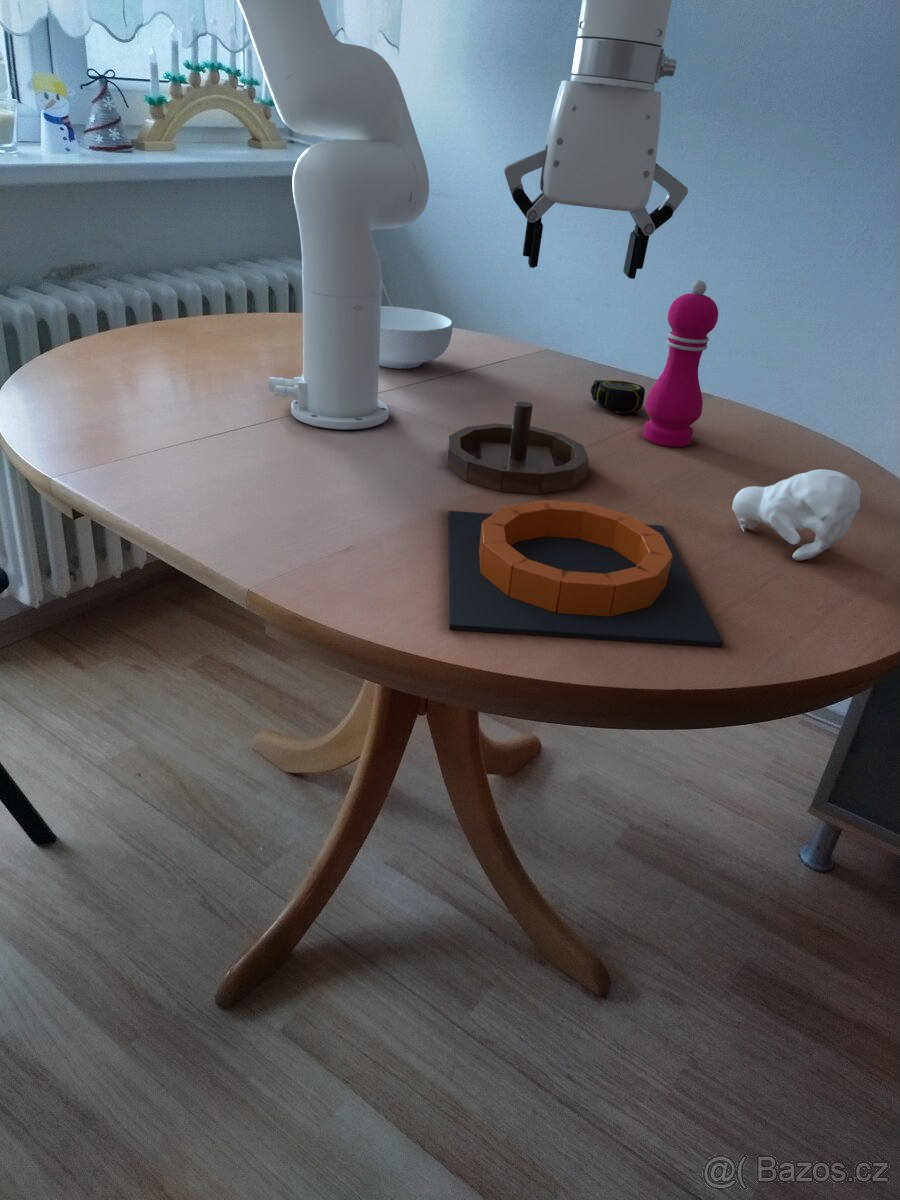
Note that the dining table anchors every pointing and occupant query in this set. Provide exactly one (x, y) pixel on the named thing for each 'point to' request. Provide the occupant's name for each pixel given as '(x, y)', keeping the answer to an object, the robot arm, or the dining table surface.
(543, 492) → the walnut ring
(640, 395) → the tape measure
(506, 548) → the orange ring
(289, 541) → the dining table surface
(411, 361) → the cereal bowl
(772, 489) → the white animal figurine
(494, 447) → the post
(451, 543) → the mat
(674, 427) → the pepper mill
